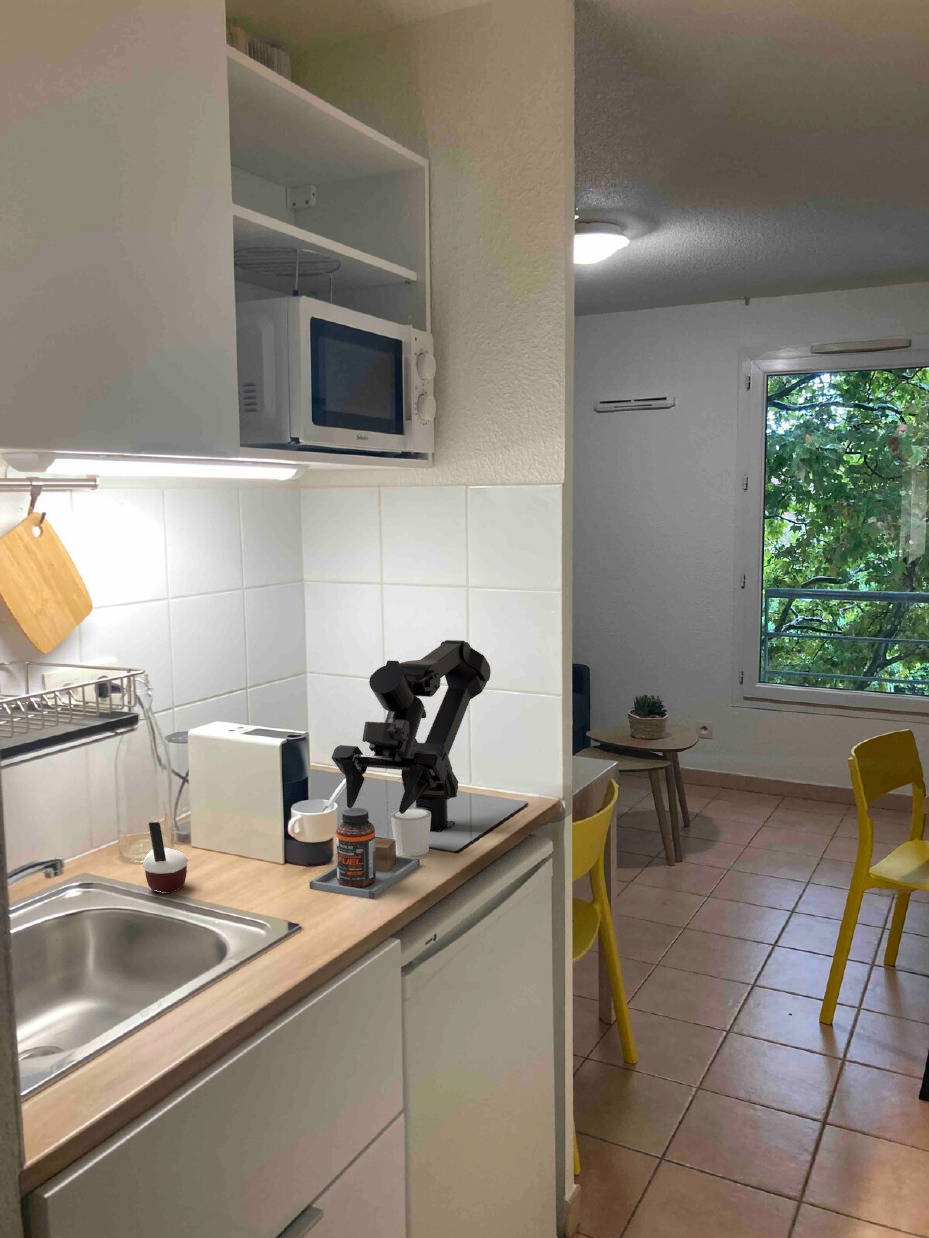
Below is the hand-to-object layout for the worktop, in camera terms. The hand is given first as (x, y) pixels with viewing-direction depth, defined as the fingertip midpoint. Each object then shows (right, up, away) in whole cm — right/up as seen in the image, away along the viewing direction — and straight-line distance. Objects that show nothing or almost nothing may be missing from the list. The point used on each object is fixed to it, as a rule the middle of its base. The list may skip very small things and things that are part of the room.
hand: (374, 810), depth 158 cm
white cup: (+5, -9, +9) cm, 14 cm away
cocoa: (-32, -12, -5) cm, 34 cm away
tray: (-1, -10, -3) cm, 11 cm away
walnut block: (+1, -9, +1) cm, 9 cm away
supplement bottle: (-2, -10, -5) cm, 12 cm away
